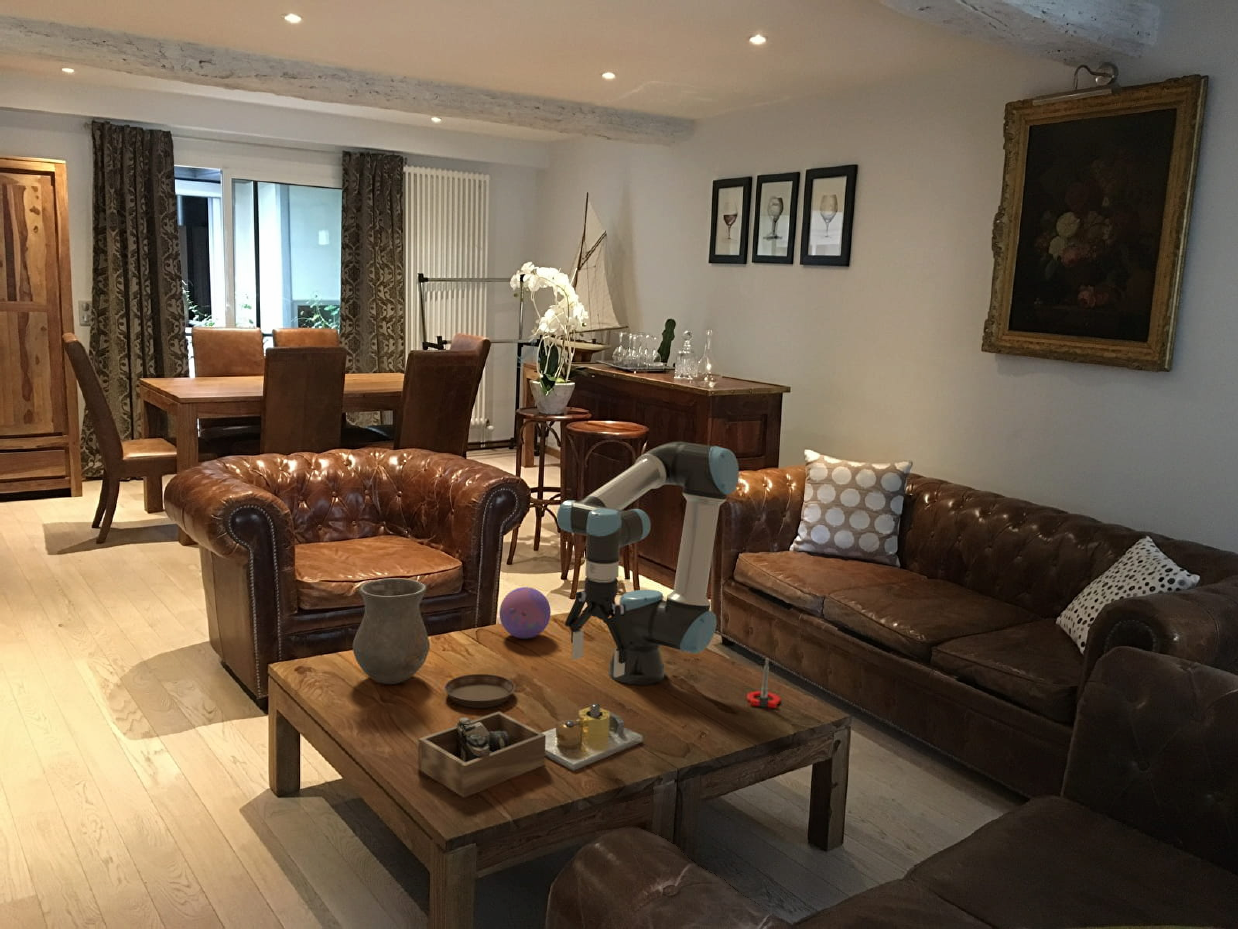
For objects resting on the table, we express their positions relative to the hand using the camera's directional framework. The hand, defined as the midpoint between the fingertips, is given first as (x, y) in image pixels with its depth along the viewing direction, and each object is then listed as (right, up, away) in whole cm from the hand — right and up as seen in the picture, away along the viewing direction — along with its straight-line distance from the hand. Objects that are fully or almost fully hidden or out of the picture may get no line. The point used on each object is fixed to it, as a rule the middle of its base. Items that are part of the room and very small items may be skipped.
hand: (597, 666), depth 234 cm
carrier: (-3, -18, +1) cm, 18 cm away
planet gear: (-1, -16, +3) cm, 16 cm away
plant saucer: (-30, -13, +24) cm, 41 cm away
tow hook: (+42, -15, +31) cm, 54 cm away
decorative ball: (-23, -5, +68) cm, 72 cm away
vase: (-54, -10, +32) cm, 64 cm away
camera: (-24, -19, -14) cm, 34 cm away
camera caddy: (-25, -19, -13) cm, 34 cm away
